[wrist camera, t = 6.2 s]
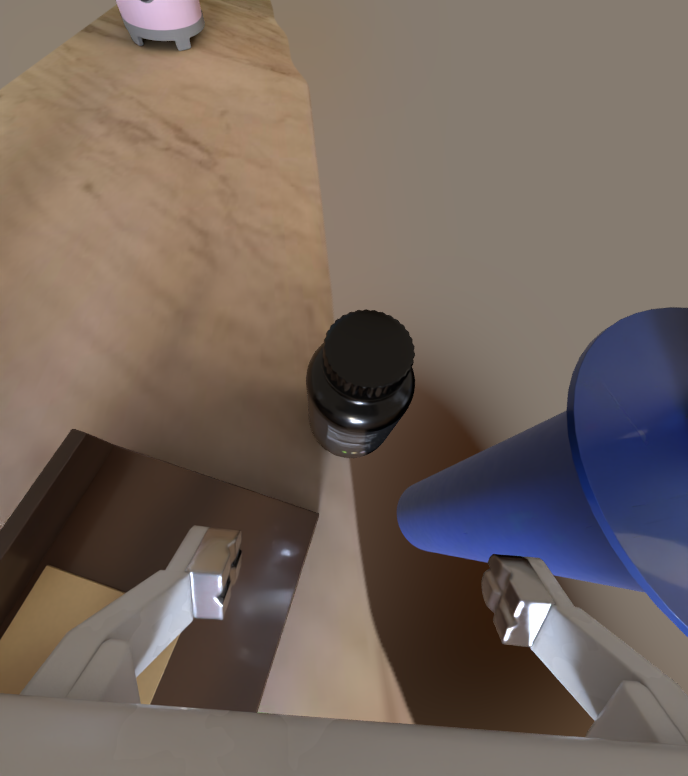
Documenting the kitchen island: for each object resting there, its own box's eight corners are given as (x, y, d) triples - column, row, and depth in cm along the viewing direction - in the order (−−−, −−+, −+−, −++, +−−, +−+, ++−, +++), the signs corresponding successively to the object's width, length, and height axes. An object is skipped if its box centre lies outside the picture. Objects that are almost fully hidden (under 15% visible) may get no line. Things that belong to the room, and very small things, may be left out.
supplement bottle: (404, 423, 28) (461, 353, 17) (346, 477, 25) (368, 437, 14) (351, 370, 29) (371, 274, 18) (293, 415, 27) (275, 338, 16)
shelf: (319, 515, 24) (319, 511, 19) (188, 928, 16) (120, 1138, 10) (125, 450, 25) (71, 427, 19) (-93, 809, 17) (-293, 944, 11)
